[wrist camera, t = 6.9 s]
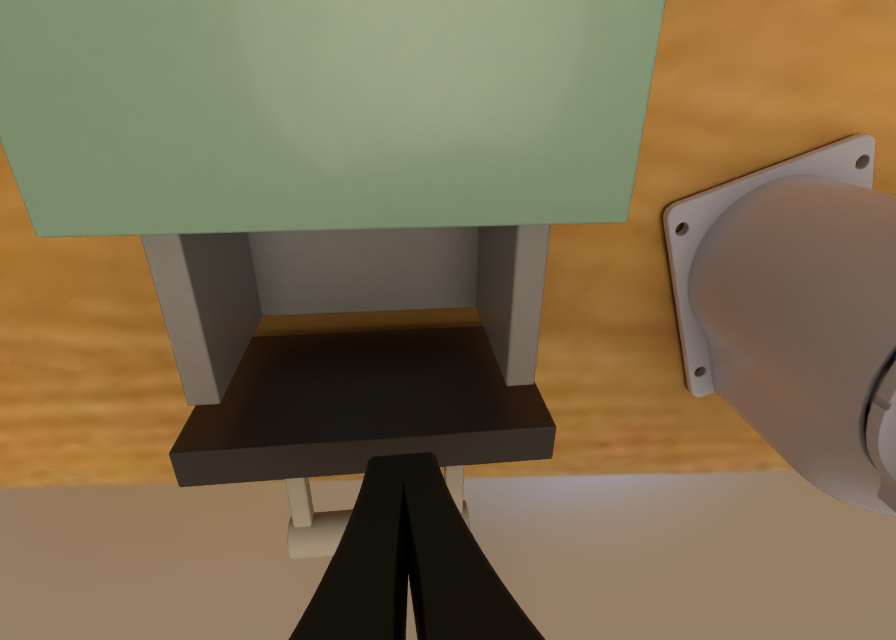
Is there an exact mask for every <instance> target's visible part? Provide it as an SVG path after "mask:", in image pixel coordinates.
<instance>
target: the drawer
mask: <svg viewBox="0 0 896 640" xmlns="http://www.w3.org/2000/svg"><path fill="white" fill-rule="evenodd" d="M549 234H550V225H518V226H479V227H439V228H400V229H360V230H321V231H282V232H242V233H203V234H164V235H141V238H142V242H143V246H144V249H145V253H146V256H147V260H148V264H149V267H150V271H151V274H152V278H153V281H154V285H155V289H156V292H157V296H158V299H159V303H160V307H161V310H162V314H163V317H164V321H165V324H166V328H167V332H168V335H169V339H170V342H171V346H172V350H173V353H174V357H175V360H176V364H177V367H178V371H179V375H180V378H181V382H182V385H183V389H184V393H185V396H186V400H187V403H188V405H189V406H192V405H196V406H195V408H194V410H193V411H192V413H191V415H190V417H189V419H188V420H187V422H186V424H185V426H184V428H183V429H182V431H181V433H180V435H179V436H178V438H177V440H176V442H175V444H174V445H173V447H172V449H171V451H170V453H169V456H170V459H171V462H172V465H173V469H174V472H175V475H176V478H177V481H178V484H179V486H180V487H189V486H202V485H215V484H228V483H241V482H254V481H267V480H280V479H285V483H286V488H287V493H288V498H289V504H290V509H291V514H292V516H291V518H290V522H289V526H288V537H287V544H288V553H289V557H290V558H291V559H301V558H312V557H321V556H333V555H334V554H335V552H336V549H337V547H338V545H339V543H340V540H341V538H342V536H343V533H344V531H345V528H346V526H347V524H348V521H349V519H350V516H351V514H352V512H353V509H351V510H340V511H328V512H316V513H314V510H313V504H312V498H311V492H310V485H309V479H308V477H319V476H332V475H345V474H358V473H365V472H366V467H367V462H368V460H370V459H371V458H372V457H373V456H386V455H398V454H411V453H423V452H432V453H433V454H434V455H436V457H437V461H438V464H439V467H444V480H445V482H446V485H447V487H448V489H449V491H450V493H451V496H452V498H453V500H454V502H455V504H456V506H457V508H458V510H459V512H460V514H461V515H462V517H463V519H464V521H465V522H466V524H467V526H468V528H469V530H470V526H469V515H468V508H467V504H466V502H465V500H463V484H464V483H463V482H464V465H475V464H488V463H501V462H514V461H527V460H540V459H551V458H552V455H553V448H554V440H555V433H556V425H555V423H554V421H553V419H552V417H551V415H550V413H549V411H548V409H547V407H546V404H545V402H544V400H543V398H542V396H541V394H540V392H539V390H538V388H537V386H536V384H535V382H534V380H535V370H536V360H537V350H538V341H539V331H540V321H541V311H542V302H543V292H544V282H545V273H546V263H547V253H548V243H549ZM472 307H476V308H477V311H478V314H479V316H480V319H481V321H482V324H483V326H476V327H455V328H434V329H412V330H391V331H370V332H348V333H327V334H306V335H285V336H263V337H253V335H254V333H255V331H256V329H257V326H258V324H259V322H260V320H261V318H262V316H285V315H308V314H332V313H355V312H378V311H402V310H425V309H448V308H472Z"/></svg>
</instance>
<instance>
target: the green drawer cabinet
mask: <svg viewBox="0 0 896 640" xmlns="http://www.w3.org/2000/svg"><path fill="white" fill-rule="evenodd" d="M665 1H666V0H0V140H1V143H2V146H3V148H4V151H5V154H6V156H7V159H8V161H9V164H10V167H11V169H12V172H13V175H14V177H15V180H16V183H17V185H18V188H19V191H20V193H21V196H22V199H23V201H24V204H25V207H26V209H27V212H28V215H29V217H30V220H31V223H32V225H33V228H34V231H35V233H36V235H37V237H41V238H45V237H85V236H124V235H164V234H203V233H242V232H282V231H321V230H360V229H400V228H439V227H479V226H518V225H558V224H597V223H625V222H627V220H628V214H629V209H630V203H631V197H632V191H633V186H634V180H635V174H636V168H637V162H638V157H639V151H640V145H641V139H642V134H643V128H644V122H645V116H646V110H647V105H648V99H649V93H650V87H651V82H652V76H653V70H654V64H655V58H656V53H657V47H658V41H659V35H660V30H661V24H662V18H663V12H664V7H665Z"/></svg>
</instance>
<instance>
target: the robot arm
mask: <svg viewBox="0 0 896 640" xmlns="http://www.w3.org/2000/svg"><path fill="white" fill-rule="evenodd" d="M874 156H875V139H874V138H873V136H871V135H868V134H856V135H853V136H850V137H848V138H845V139H842V140H840V141H837V142H834V143H832V144H829V145H826V146H824V147H821V148H818V149H816V150H813V151H810V152H808V153H805V154H802V155H800V156H797V157H794V158H792V159H789V160H786V161H784V162H781V163H778V164H776V165H773V166H770V167H768V168H765V169H762V170H760V171H757V172H754V173H752V174H749V175H746V176H744V177H741V178H738V179H736V180H733V181H730V182H728V183H725V184H722V185H720V186H717V187H714V188H712V189H709V190H706V191H704V192H701V193H698V194H696V195H693V196H690V197H688V198H685V199H682V200H680V201H677V202H674V203H672V204H671V205H669V206H668V207H667V209H666V210H665V212H664V214H663V222H664V229H665V236H666V243H667V250H668V256H669V263H670V270H671V277H672V284H673V291H674V298H675V304H676V311H677V318H678V325H679V332H680V339H681V346H682V352H683V359H684V366H685V373H686V380H687V387H688V390H689V392H690V393H691V394H692V395H693V396H695V397H703V396H706V395H709V394H712V393H715V392H716V393H717V394H718V395H719V396H720V397H721V398H722V399H723V400H724V401H725V402H726V403H727V404H728V405H730V406H731V407H732V408H733V409H734V410H735V411H736V412H737V413H738V414H739V415H740V416H741V417H742V418H743V419H744V420H745V421H746V422H747V423H748V424H749V425H750V426H751V427H752V428H753V429H754V430H755V431H756V432H757V433H758V434H759V435H760V436H761V437H762V438H763V439H764V440H765V441H766V442H767V443H768V444H770V445H771V446H772V447H773V448H774V449H775V450H776V451H777V452H778V453H779V454H780V455H781V456H782V457H783V458H784V459H785V460H786V461H787V462H788V463H789V464H790V465H791V466H792V467H793V468H794V469H795V470H796V471H797V472H798V473H799V474H800V475H801V476H803V477H804V478H805V479H806V480H807V481H809V482H810V483H811V484H812V485H814V486H815V487H817V488H818V489H820V490H822V491H823V492H825V493H827V494H829V495H830V496H832V497H834V498H836V499H839V500H841V501H843V502H846V503H848V504H851V505H853V506H856V507H859V508H861V509H865V510H868V511H871V512H875V513H879V514H884V515H890V516H896V195H894V194H890V193H886V192H882V191H878V190H874V189H872V188H873V172H874ZM859 157H860V161H859V163H858V164H857V165H855V164H856V161H857V160H858V158H859ZM680 223H683V228H682V229H681V231H679V232H678V233H676V232H675V230H676V227H677V226H678V225H679V224H680ZM699 367H701V368H700V369H699V370H698V371H696V369H697V368H699ZM695 371H696V372H695ZM408 574H409V581H410V589H411V596H412V603H413V610H414V617H415V624H416V632H417V639H418V640H545V639H544V637H543V636H542V635H541V634H540V632H539V631H538V630H537V629H536V627H535V626H534V625H533V623H532V622H531V621H530V620H529V618H528V617H527V616H526V614H525V613H524V612H523V610H522V609H521V608H520V606H519V605H518V604H517V602H516V601H515V600H514V598H513V597H512V595H511V594H510V593H509V591H508V590H507V588H506V587H505V586H504V584H503V583H502V581H501V580H500V578H499V577H498V575H497V574H496V572H495V571H494V569H493V567H492V566H491V565H490V563H489V561H488V560H487V558H486V557H485V555H484V554H483V552H482V551H481V549H480V547H479V545H478V544H477V542H476V540H475V539H474V537H473V535H472V533H471V532H470V530H469V528H468V526H467V524H466V522H465V521H464V519H463V517H462V515H461V514H460V512H459V510H458V508H457V506H456V504H455V502H454V500H453V498H452V496H451V493H450V491H449V489H448V487H447V485H446V482H445V480H444V478H443V475H442V473H441V470H440V467H439V464H438V461H437V457H436V455H434V454H433V453H432V452H423V453H411V454H398V455H386V456H373V457H372V458H371V459H370V460H368V462H367V467H366V472H365V476H364V479H363V483H362V486H361V489H360V492H359V495H358V498H357V501H356V503H355V506H354V509H353V512H352V514H351V516H350V519H349V521H348V524H347V526H346V528H345V531H344V533H343V536H342V538H341V540H340V543H339V545H338V547H337V549H336V552H335V554H334V556H333V558H332V560H331V562H330V564H329V566H328V568H327V570H326V572H325V574H324V576H323V578H322V580H321V582H320V584H319V586H318V588H317V590H316V592H315V594H314V596H313V598H312V599H311V602H310V603H309V605H308V607H307V609H306V610H305V612H304V614H303V616H302V618H301V619H300V621H299V623H298V625H297V626H296V628H295V630H294V631H293V633H292V635H291V637H290V638H289V640H406V617H407V593H408Z"/></svg>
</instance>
